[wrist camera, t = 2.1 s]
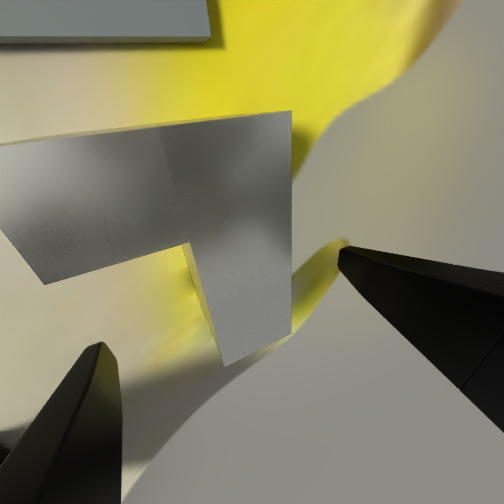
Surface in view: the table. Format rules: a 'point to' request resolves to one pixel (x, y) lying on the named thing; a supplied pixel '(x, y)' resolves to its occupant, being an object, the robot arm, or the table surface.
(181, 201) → the bracket
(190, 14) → the arena board
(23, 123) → the table surface
